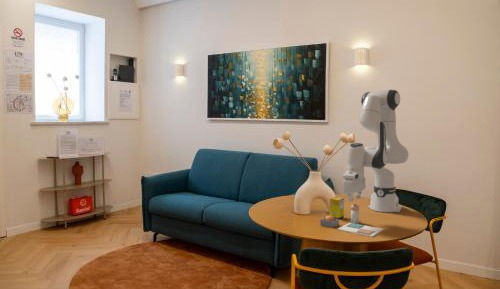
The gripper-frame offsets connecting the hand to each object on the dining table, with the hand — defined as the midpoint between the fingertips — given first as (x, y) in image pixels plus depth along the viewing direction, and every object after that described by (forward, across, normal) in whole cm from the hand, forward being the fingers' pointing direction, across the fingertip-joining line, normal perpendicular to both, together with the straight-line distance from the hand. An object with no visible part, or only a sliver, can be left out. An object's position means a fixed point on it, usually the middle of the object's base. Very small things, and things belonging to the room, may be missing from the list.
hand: (354, 200), depth 211 cm
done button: (+11, +12, -8) cm, 18 cm away
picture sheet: (+13, +10, +8) cm, 18 cm away
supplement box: (+12, -4, -12) cm, 18 cm away
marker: (+12, -1, 0) cm, 12 cm away
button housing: (+12, +12, -8) cm, 19 cm away
